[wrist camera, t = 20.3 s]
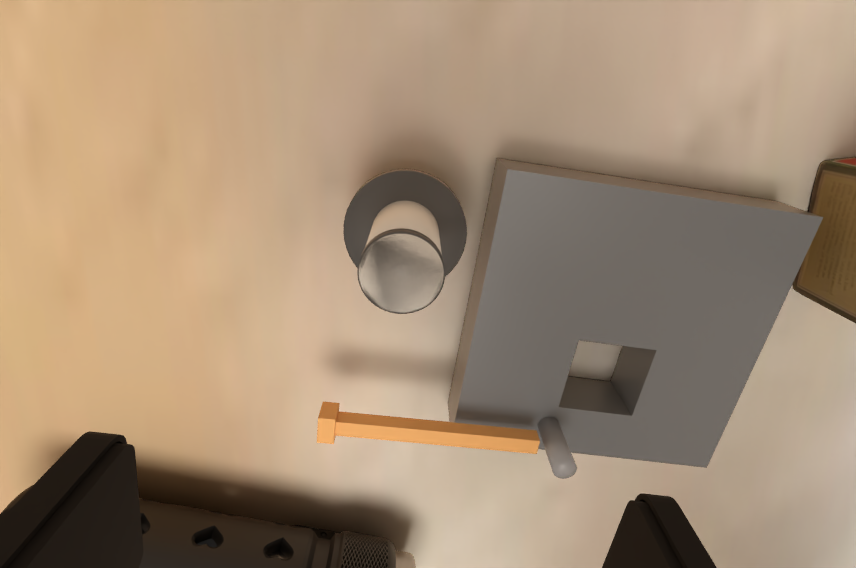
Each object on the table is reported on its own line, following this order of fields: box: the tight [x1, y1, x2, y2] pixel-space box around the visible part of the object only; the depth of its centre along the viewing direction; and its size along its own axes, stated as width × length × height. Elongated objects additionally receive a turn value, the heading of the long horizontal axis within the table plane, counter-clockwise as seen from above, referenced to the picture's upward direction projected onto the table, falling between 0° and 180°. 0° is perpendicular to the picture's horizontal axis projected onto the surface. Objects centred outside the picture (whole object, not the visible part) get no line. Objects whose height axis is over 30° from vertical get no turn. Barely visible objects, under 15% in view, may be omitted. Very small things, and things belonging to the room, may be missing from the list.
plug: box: [344, 169, 467, 314], centre depth 26 cm, size 7×7×11 cm
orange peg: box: [317, 402, 540, 454], centre depth 31 cm, size 2×14×2 cm, turn 83°
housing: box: [448, 158, 823, 479], centre depth 30 cm, size 18×18×8 cm
